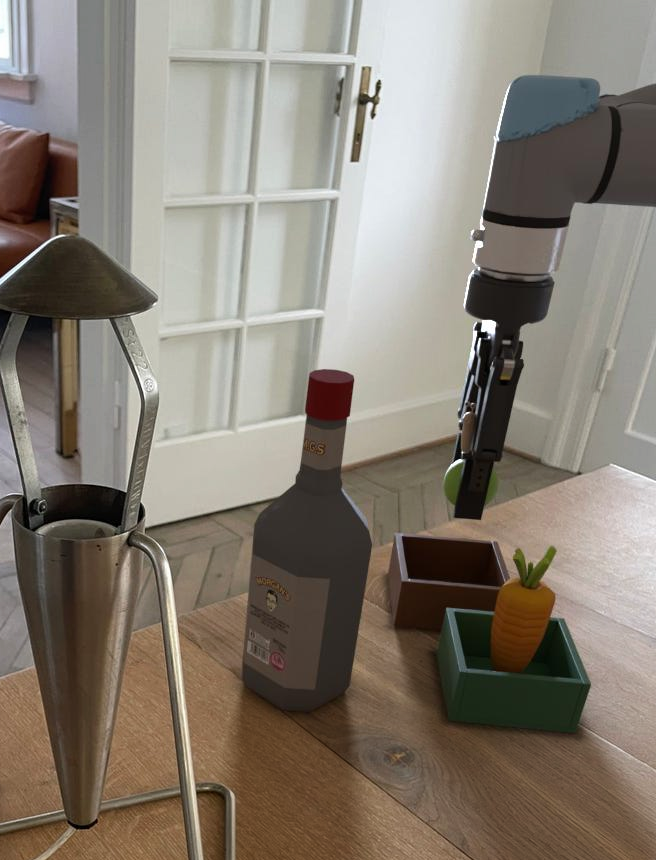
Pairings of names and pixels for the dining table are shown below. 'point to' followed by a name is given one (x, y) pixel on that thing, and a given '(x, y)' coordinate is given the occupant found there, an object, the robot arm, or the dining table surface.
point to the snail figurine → (456, 468)
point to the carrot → (521, 615)
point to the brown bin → (442, 578)
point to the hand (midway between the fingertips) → (463, 504)
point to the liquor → (309, 567)
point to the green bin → (510, 677)
